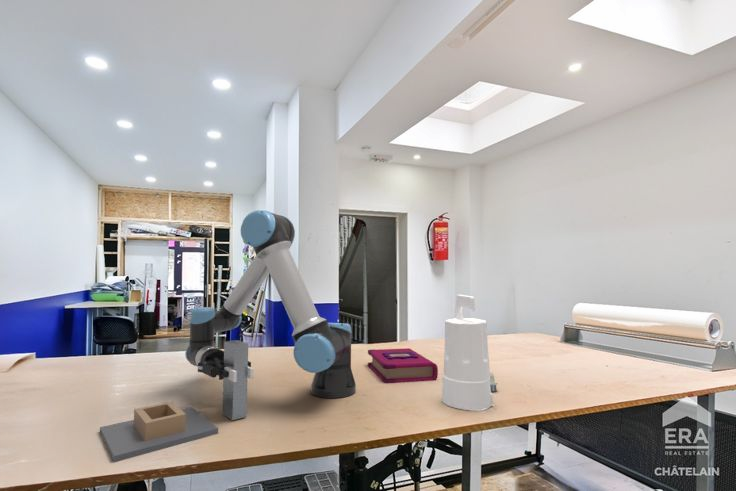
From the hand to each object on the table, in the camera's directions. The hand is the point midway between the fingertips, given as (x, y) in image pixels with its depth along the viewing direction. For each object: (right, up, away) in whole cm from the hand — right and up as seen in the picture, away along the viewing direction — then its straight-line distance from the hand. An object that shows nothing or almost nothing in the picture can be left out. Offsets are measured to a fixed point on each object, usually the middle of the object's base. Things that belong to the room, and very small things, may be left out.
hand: (243, 375), depth 105 cm
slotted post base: (-19, -12, -8) cm, 23 cm away
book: (+47, -17, +52) cm, 72 cm away
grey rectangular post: (-4, -12, +3) cm, 13 cm away
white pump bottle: (+65, -14, +17) cm, 69 cm away
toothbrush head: (+74, -16, +38) cm, 85 cm away
